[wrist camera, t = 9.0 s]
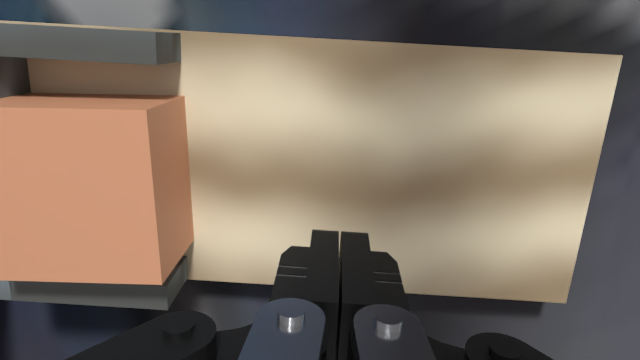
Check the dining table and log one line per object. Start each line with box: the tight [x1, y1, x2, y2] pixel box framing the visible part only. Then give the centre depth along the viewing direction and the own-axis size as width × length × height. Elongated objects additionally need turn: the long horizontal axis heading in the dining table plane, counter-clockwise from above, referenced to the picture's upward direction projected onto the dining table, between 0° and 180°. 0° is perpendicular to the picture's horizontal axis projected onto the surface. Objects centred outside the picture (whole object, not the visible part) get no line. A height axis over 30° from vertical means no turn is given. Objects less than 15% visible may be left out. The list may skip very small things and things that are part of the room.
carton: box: [0, 93, 194, 285], centre depth 20 cm, size 7×7×4 cm
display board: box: [0, 21, 623, 310], centre depth 22 cm, size 12×28×5 cm, turn 87°
